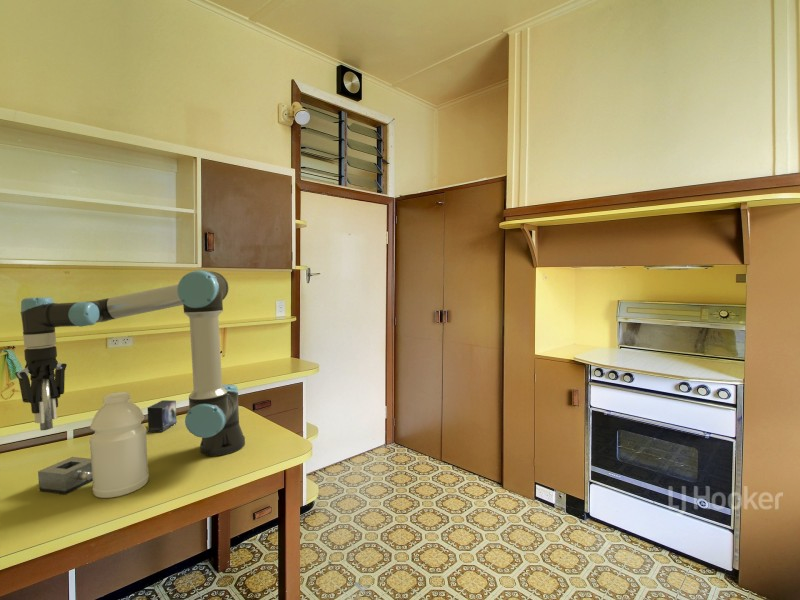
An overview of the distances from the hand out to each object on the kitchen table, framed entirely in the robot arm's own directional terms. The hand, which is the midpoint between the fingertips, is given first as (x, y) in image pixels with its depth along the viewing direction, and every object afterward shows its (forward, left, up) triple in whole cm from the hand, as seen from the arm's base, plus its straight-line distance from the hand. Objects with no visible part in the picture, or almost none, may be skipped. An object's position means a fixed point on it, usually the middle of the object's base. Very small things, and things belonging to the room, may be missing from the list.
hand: (46, 420), depth 127 cm
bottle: (-28, 0, -19) cm, 34 cm away
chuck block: (-12, +2, -18) cm, 22 cm away
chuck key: (0, 0, -3) cm, 3 cm away
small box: (-1, -44, -19) cm, 48 cm away
